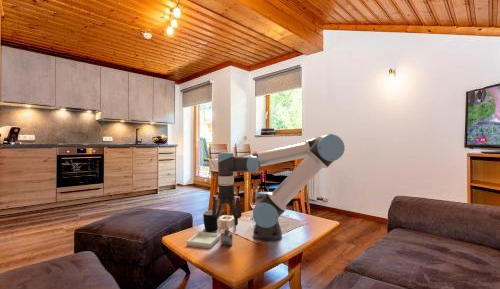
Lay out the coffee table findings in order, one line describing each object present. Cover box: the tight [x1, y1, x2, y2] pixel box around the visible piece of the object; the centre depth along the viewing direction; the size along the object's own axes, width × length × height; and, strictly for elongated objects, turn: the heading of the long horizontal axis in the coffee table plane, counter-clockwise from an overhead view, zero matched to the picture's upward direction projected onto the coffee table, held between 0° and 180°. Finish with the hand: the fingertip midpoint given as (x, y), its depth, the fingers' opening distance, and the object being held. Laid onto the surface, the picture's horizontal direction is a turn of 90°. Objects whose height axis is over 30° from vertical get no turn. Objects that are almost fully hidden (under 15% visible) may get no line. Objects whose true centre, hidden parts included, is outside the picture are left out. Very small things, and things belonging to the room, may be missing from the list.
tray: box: [186, 231, 222, 249], centre depth 124 cm, size 13×13×2 cm
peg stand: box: [220, 217, 233, 248], centre depth 120 cm, size 6×6×13 cm
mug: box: [202, 209, 218, 233], centre depth 141 cm, size 12×9×10 cm
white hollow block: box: [217, 214, 234, 230], centre depth 119 cm, size 9×7×3 cm
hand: (227, 231), depth 120 cm, fingers closed on white hollow block, 7 cm apart
